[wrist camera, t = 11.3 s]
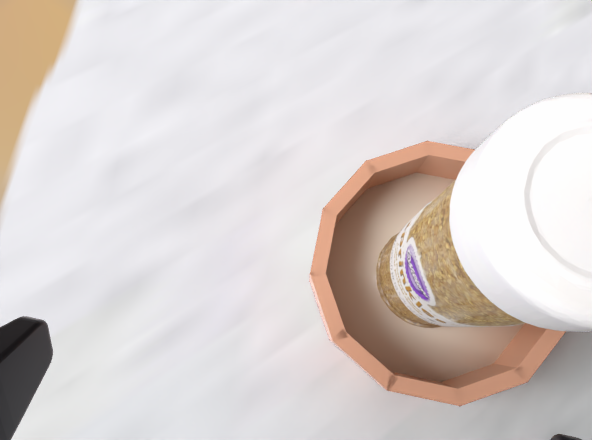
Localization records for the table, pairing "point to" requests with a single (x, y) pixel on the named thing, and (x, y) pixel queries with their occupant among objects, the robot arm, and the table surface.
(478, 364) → the terracotta bowl
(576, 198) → the sprinkles bottle
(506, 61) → the table surface
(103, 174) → the table surface
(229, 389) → the table surface
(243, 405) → the table surface
